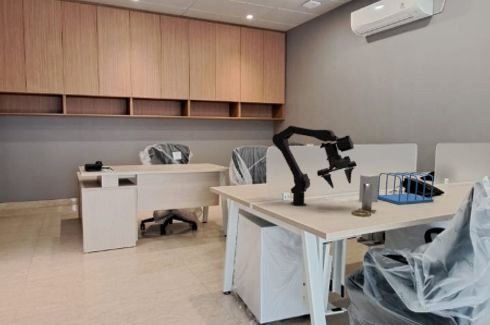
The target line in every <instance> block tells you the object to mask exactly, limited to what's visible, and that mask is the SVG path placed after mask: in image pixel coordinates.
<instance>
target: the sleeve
mask: <svg viewBox="0 0 490 325" xmlns="http://www.w3.org/2000/svg"><path fill="white" fill-rule="evenodd" d="M372 191H373V184H371V183H363V193H362V202H361V208H362V210H364V211H369V212H371V210H373V209H372V208H373V206H372V205H373V202H372Z"/></svg>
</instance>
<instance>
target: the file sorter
mask: <svg viewBox="0 0 490 325" xmlns="http://www.w3.org/2000/svg"><path fill="white" fill-rule="evenodd" d="M382 175H386V182H385V194H380V187H381V186H380V183H381V176H382ZM378 176H379V179H378V197H377V200H382V201H384V202H389V203H393V204H395V205H410V204H423V203H427V204H428V203H434V199H433V191H434V181H435V180H434V176H433V175H431V174H430V173H429V174H428V173H423V172H416V171H413V172H409V171H405V172H388V173H386V172H381V173H379V175H378ZM389 176H393V177H394V179H393V192H392V194H391V193H390V194H388V181H389V180H388V179H389V178H388V177H389ZM417 176H421V177H423V191H422V192H423V193H422V195H418V194H417V193H418V181H419V180H418V177H417ZM425 176H430V177H431V179H432V181H431V192H430V197H426V196H425V193H426V191H425V190H426V180H427V179H426V177H425ZM396 177H397V178H398V179H399V191H398V193H397V194H395V193H396V192H395V190H396V180H397V178H396ZM404 177H406V178H407V191H406V192H407V193H403V186H404V185H403V183H404ZM412 177H415V179H416V180H415V193H414V194H412V193H410V192H411V189H410V188H411V181H412V179H411V178H412Z"/></svg>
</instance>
